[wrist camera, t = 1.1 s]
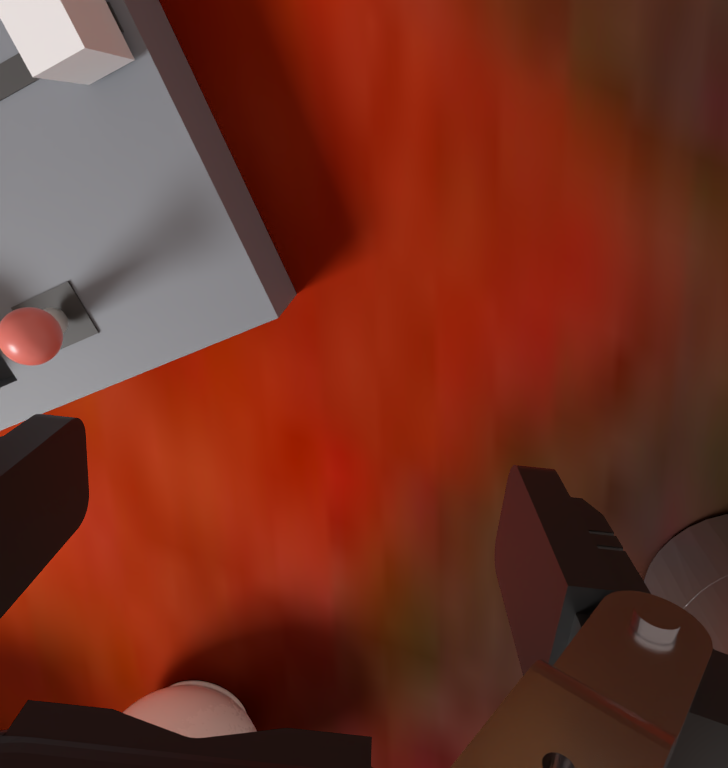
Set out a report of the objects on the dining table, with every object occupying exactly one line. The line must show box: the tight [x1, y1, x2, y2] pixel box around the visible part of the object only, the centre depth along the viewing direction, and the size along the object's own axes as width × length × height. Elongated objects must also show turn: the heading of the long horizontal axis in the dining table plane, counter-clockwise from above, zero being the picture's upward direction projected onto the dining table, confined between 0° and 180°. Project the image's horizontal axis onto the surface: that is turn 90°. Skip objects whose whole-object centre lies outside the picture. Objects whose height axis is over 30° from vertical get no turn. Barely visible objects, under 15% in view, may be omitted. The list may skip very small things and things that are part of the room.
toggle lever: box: [0, 307, 68, 365], centre depth 23 cm, size 2×2×6 cm
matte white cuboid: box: [0, 0, 135, 85], centre depth 20 cm, size 2×3×4 cm, turn 23°
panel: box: [0, 0, 297, 430], centre depth 27 cm, size 20×16×4 cm
